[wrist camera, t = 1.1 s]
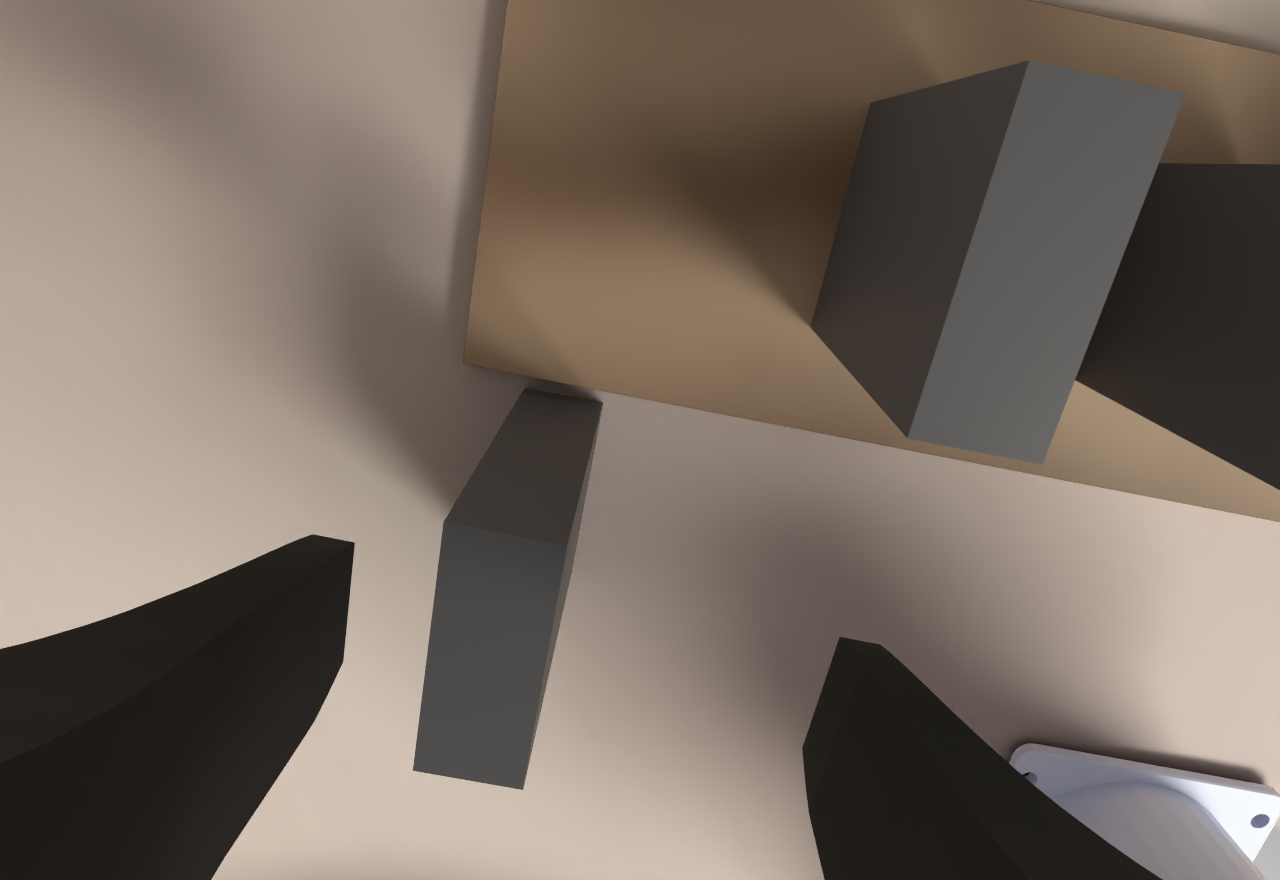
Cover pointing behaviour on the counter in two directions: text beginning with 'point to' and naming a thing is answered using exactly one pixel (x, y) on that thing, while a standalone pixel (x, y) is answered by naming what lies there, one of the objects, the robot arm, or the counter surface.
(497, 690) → the domino
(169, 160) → the counter surface
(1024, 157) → the domino
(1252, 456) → the domino
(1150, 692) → the counter surface
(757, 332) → the board
